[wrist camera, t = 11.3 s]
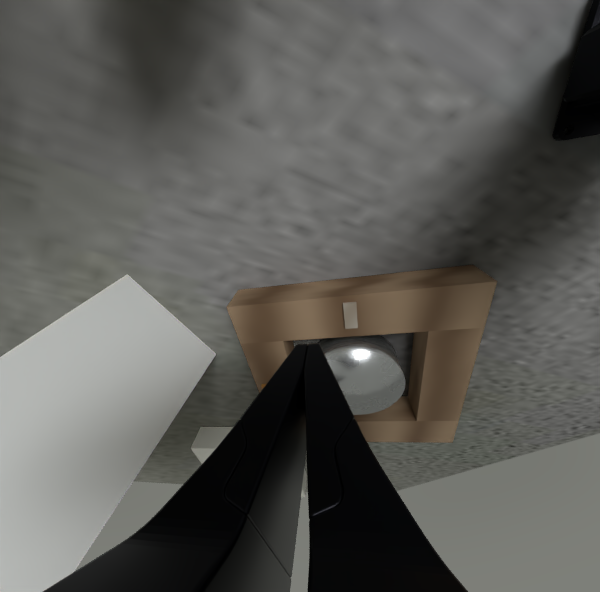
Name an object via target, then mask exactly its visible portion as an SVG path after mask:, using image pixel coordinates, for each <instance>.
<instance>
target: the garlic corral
mask: <svg viewBox="0 0 600 592" xmlns="http://www.w3.org/2000/svg"><path fill="white" fill-rule="evenodd" d="M232 428H233V427H200V429H199V431H198V434H197V436H196V438H195V440H194V442H193V444H192V446H191V450H192V451H193V452H194V454H195V455H196V456H197V458H198V459H199V461H200V462H201V463H202V464H203V463H204V461H205V460H206V459H207V458H208V457H209V456H210V455H211V453H212V452H213V451H214V450H215V449H216V448H217V447H218V445H219V444H220V443H221V442H222V440H223V439H224V438H225V437H226V435H227V434H228V433H229V432H230V431H231V429H232ZM306 482H307V474H306V471H305V467H304V475H303V484H302V492H301V497H306Z"/></svg>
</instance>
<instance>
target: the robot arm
mask: <svg viewBox="0 0 600 592" xmlns="http://www.w3.org/2000/svg"><path fill="white" fill-rule="evenodd" d="M567 126H568V131H567V132H566V133H565V134H564V130H565V128H566V127H567ZM597 134H600V0H593V3H592V6H591V9H590V12H589V16H588V19H587V22H586V26H585V29H584V32H583V36H582V38H581V40H580V44H579V47H578V50H577V54H576V57H575V60H574V63H573V67H572V70H571V73H570V77H569V80H568V83H567V87H566V90H565V93H564V97H563V101H562V105H561V108H560V111H559V115H558V118H557V121H556V125H555V128H554V131H553V138H554V139H555V140H556V141H561V140H569V139H574V138H580V137H586V136H591V135H597ZM240 419H241V420H238V421H237V423H236V424H235V425H234V427H233V428H232V429H231V431H230V432H229V433H228V434H227V435H226V437H225V438H224V439H223V440H222V442H221V443H220V444H219V445H218V447H217V448H216V449H215V450H214V451H213V452H212V453H211V455H210V456H209V457H208V458H207V459H206V460H205V461H204V463H203V464H202V465H201V466H200V467H199V468H198V469H197V470H196V471H195V472H194V473H193V475H192V476H191V477H190V478H189V479H188V480H187V481H186V482H185V483H184V484H183V486H182V487H181V488H180V489H179V490H178V491H177V492H176V493H175V494H174V496H173V497H172V498H171V499H170V500H169V501H168V502H167V503H166V504H165V505H164V506H163V508H162V509H161V510H160V511H159V512H158V513H157V514H156V515H155V516H154V517H153V518H152V519H151V520H150V521H148V522H147V523H146V524H145V525H144V526H143V527H142V528H140V529H139V530H138V531H137V532H136V533H134V534H133V535H132V536H130V537H129V538H128V539H126V540H125V541H123V542H122V543H120V544H118V545H117V546H115V547H114V548H112V549H110V550H109V551H107V552H106V553H104V554H102V555H101V556H99V557H97V558H96V559H94V560H93V561H91V562H89V563H88V564H86V565H85V566H83V567H81V568H80V569H78V570H76V571H75V572H73V573H72V574H70V575H68V576H67V577H65V578H64V579H62V580H60V581H59V582H57V583H56V584H54V585H52V586H51V587H49V588H47V589H46V590H44V591H43V592H290V586H291V578H290V577H291V576H292V568H293V559H294V551H295V542H296V534H297V526H298V517H299V508H300V500H301V492H302V484H303V475H304V467H305V458H306V450H307V475H308V502H309V503H308V504H309V519H310V521H309V531H310V559H309V577H308V592H468V591H467V590H466V589H465V587H464V586H463V585H462V584H461V583H460V582H459V580H458V579H457V578H456V577H455V576H454V574H453V573H452V572H451V571H450V570H449V568H448V567H447V566H446V565H445V564H444V562H443V561H442V560H441V558H440V557H439V555H438V554H437V552H436V551H435V550H434V548H433V547H432V545H431V544H430V542H429V541H428V539H427V538H426V537H425V535H424V534H423V532H422V530H421V529H420V528H419V526H418V524H417V523H416V521H415V520H414V518H413V517H412V515H411V513H410V512H409V510H408V509H407V507H406V505H405V504H404V502H403V501H402V499H401V498H400V496H399V495H398V493H397V491H396V490H395V488H394V487H393V485H392V483H391V482H390V480H389V479H388V477H387V475H386V474H385V472H384V471H383V469H382V467H381V466H380V464H379V462H378V461H377V459H376V457H375V456H374V454H373V452H372V451H371V449H370V447H369V445H368V443H367V441H366V439H365V437H364V435H363V433H362V432H361V429H360V427H359V425H358V423H357V421H356V419H355V418H354V415H353V413H352V411H351V409H350V407H349V405H348V403H347V400H346V398H345V396H344V394H343V392H342V390H341V388H340V386H339V384H338V382H337V379H336V377H335V375H334V373H333V371H332V369H331V367H330V365H329V363H328V361H327V359H326V356H325V354H324V352H323V350H322V348H321V346H320V344H319V343H311V344H308V345H307V344H298V345H296V346H295V347H294V349H293V350H292V351H291V353H290V354H289V355H288V357H287V358H286V359H285V360H284V362H283V363H282V364H281V366H280V367H279V368H278V370H277V371H276V372H275V373H274V375H273V376H272V377H271V379H270V380H269V381H268V383H267V384H266V385H265V386H264V388H263V389H262V390H261V392H260V393H259V394H258V396H257V397H256V398H255V399H254V401H253V402H252V403H251V405H250V406H249V407H248V409H247V410H246V411H245V412H244V414H243V415H242V416H241V418H240Z"/></svg>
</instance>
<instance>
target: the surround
mask: <svg viewBox="0 0 600 592" xmlns="http://www.w3.org/2000/svg"><path fill="white" fill-rule="evenodd" d="M496 284H497V281H496V280H495V279H493V278H492V277H490V276H489V275H487V274H486V273H485V272H483V271H482V270H480V269H479V268H477V267H476V266H474V265H465V266H456V267H446V268H437V269H428V270H419V271H409V272H400V273H391V274H382V275H372V276H363V277H354V278H345V279H335V280H326V281H317V282H308V283H299V284H289V285H280V286H271V287H262V288H252V289H243V290H238V291H237V293H236V294H235V296H234V297H233V299H232V300H231V302H230V303H229V304H228V306H227V310H228V312H229V315H230V318H231V320H232V323H233V325H234V328H235V331H236V333H237V336H238V338H239V341H240V344H241V346H242V349H243V351H244V354H245V357H246V359H247V362H248V364H249V367H250V370H251V372H252V375H253V377H254V380H255V383H256V385H257V388H258V390H259V393H260V392H261V390H262V389H263V388H264V386H265V385H266V384H267V383H268V381H269V380H270V379H271V377H272V376H273V375H274V373H275V372H276V371H277V370H278V368H279V367H280V366H281V364H282V363H283V362H284V360H285V359H286V358H287V357H288V355H289V354H290V353H291V351H292V350H293V349H294V345H293V341H292V340H306V339H321V338H336V337H351V336H366V335H382V334H397V333H412V332H414V336H413V347H412V358H411V369H410V380H409V390H408V396H401V397H400V398H399V399H398V400H397V401H396V402H395V403H394V404H393V405H391V406H390V407H388V408H386V409H384V410H381V411H379V412H375V413H371V414H364V415H354V418H355V419H356V421H357V423H358V425H359V427H360V429H361V432H362V433H363V435H364V437H365V439H366V441H367V442H448V443H453V439H454V435H455V432H456V428H457V425H458V421H459V417H460V414H461V410H462V407H463V403H464V399H465V396H466V392H467V389H468V385H469V381H470V378H471V374H472V371H473V367H474V363H475V360H476V356H477V353H478V349H479V345H480V342H481V338H482V335H483V331H484V327H485V324H486V320H487V317H488V313H489V309H490V306H491V302H492V299H493V295H494V291H495V288H496Z"/></svg>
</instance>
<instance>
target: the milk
mask: <svg viewBox="0 0 600 592" xmlns="http://www.w3.org/2000/svg"><path fill="white" fill-rule="evenodd" d="M215 356H216V353H215V352H213V351H212V350H211V349H210V348H209V347H208V346H207V345H206V344H205V343H203V342H202V341H201V340H200V339H199V338H198V337H197V336H196V335H195V334H193V333H192V332H191V331H190V330H189V329H188V328H187V327H186V326H184V325H183V324H182V323H181V322H180V321H179V320H178V319H177V318H176V317H174V316H173V315H172V314H171V313H170V312H169V311H168V310H167V309H165V308H164V307H163V306H162V305H161V304H160V303H159V302H158V301H157V300H155V299H154V298H153V297H152V296H151V295H150V294H149V293H148V292H147V291H145V290H144V289H143V288H142V287H141V286H140V285H139V284H138V283H136V282H135V281H134V280H133V279H132V278H131V277H130V276H129V275H128V274H127V275H125V276H124V277H122V278H121V279H119V280H118V281H116V282H115V283H113V284H112V285H110V286H108V287H107V288H105V289H104V290H102V291H101V292H99V293H98V294H96V295H95V296H93V297H92V298H90V299H89V300H87V301H85V302H84V303H82V304H81V305H79V306H78V307H76V308H75V309H73V310H72V311H70V312H69V313H67V314H66V315H64V316H62V317H61V318H59V319H58V320H56V321H55V322H53V323H52V324H50V325H49V326H47V327H46V328H44V329H43V330H41V331H39V332H38V333H36V334H35V335H33V336H32V337H30V338H29V339H27V340H26V341H24V342H23V343H21V344H20V345H18V346H16V347H15V348H13V349H12V350H10V351H9V352H7V353H6V354H4V355H3V356H1V357H0V592H43V591H44V590H46V589H47V588H49V587H51V586H52V585H54V584H56V583H57V582H59V581H60V580H62V579H64V578H65V577H67V576H68V575H70V574H72V573H73V572H74V571H75V570H76V568H77V567H78V565H79V564H80V562H81V560H82V559H83V557H84V556H85V554H86V553H87V551H88V550H89V548H90V547H91V545H92V544H93V542H94V541H95V539H96V538H97V536H98V534H99V533H100V531H101V530H102V528H103V527H104V525H105V524H106V522H107V521H108V519H109V518H110V516H111V515H112V513H113V512H114V510H115V508H116V507H117V505H118V504H119V502H120V501H121V499H122V498H123V496H124V495H125V493H126V492H127V490H128V489H129V487H130V486H131V484H132V483H133V481H134V479H135V478H136V476H137V475H138V473H139V472H140V470H141V469H142V467H143V466H144V464H145V463H146V461H147V460H148V458H149V457H150V455H151V453H152V452H153V450H154V449H155V447H156V446H157V444H158V443H159V441H160V440H161V438H162V437H163V435H164V434H165V432H166V431H167V429H168V427H169V426H170V424H171V423H172V421H173V420H174V418H175V417H176V415H177V414H178V412H179V411H180V409H181V408H182V406H183V405H184V403H185V401H186V400H187V398H188V397H189V395H190V394H191V392H192V391H193V389H194V388H195V386H196V385H197V383H198V382H199V380H200V379H201V377H202V375H203V374H204V372H205V371H206V369H207V368H208V366H209V365H210V363H211V362H212V360H213V359H214V357H215Z"/></svg>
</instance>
